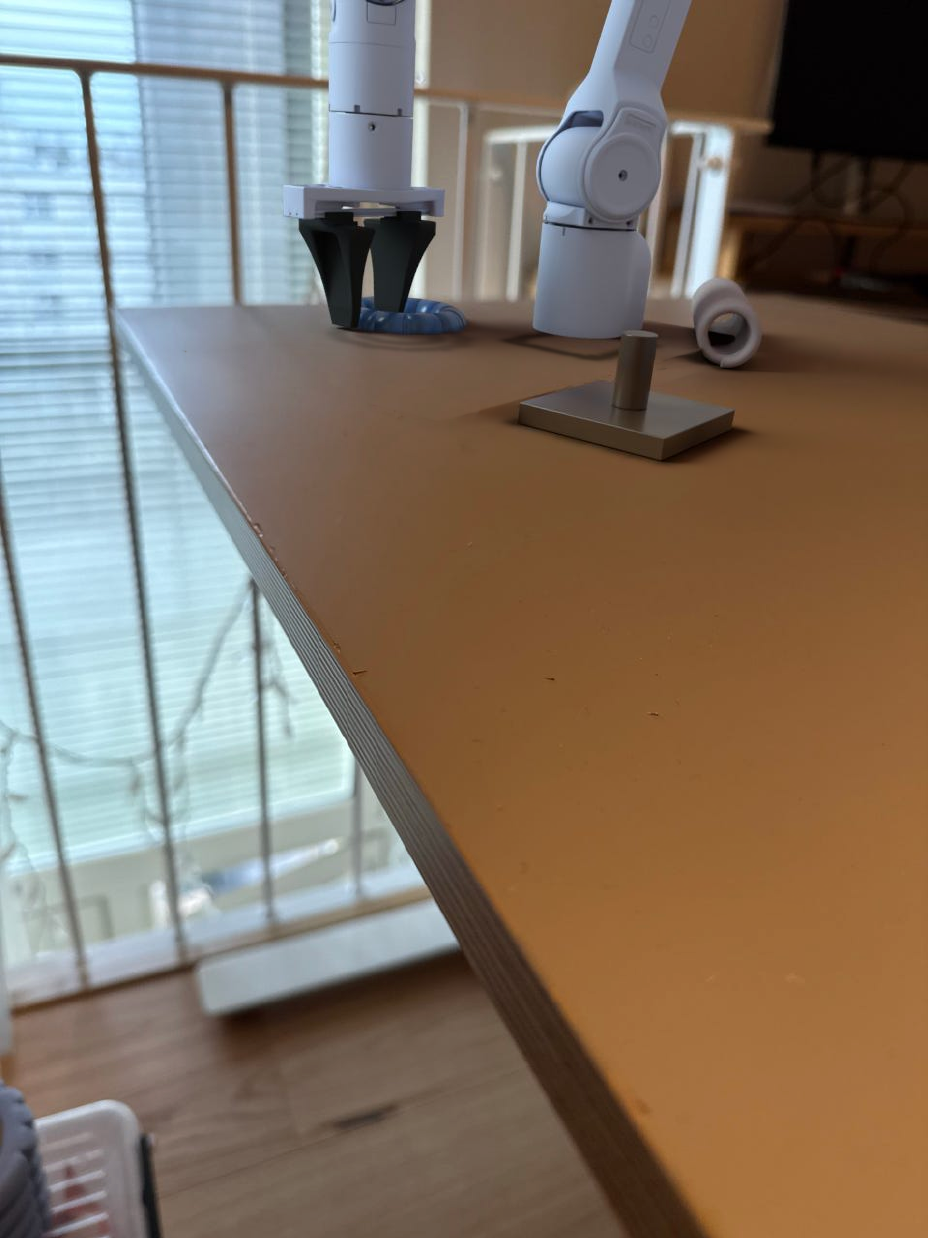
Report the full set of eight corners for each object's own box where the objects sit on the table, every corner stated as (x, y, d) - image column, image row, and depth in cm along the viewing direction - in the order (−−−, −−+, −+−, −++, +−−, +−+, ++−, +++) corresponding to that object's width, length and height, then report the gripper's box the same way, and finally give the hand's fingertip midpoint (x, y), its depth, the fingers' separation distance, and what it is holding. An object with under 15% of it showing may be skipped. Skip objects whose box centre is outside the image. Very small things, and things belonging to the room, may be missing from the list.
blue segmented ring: (394, 320, 79) (395, 290, 78) (489, 340, 74) (491, 308, 73) (308, 332, 72) (308, 299, 70) (407, 355, 66) (408, 320, 65)
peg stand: (597, 398, 59) (609, 313, 56) (731, 429, 54) (749, 338, 52) (517, 423, 52) (526, 327, 50) (661, 461, 48) (678, 358, 45)
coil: (771, 311, 68) (750, 282, 83) (707, 298, 68) (699, 271, 84) (751, 374, 70) (734, 334, 86) (689, 361, 70) (684, 324, 86)
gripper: (397, 119, 70) (391, 306, 77) (248, 105, 60) (256, 322, 66) (471, 124, 67) (459, 319, 73) (326, 109, 56) (327, 339, 62)
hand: (367, 322), depth 69 cm, fingers open, 4 cm apart
